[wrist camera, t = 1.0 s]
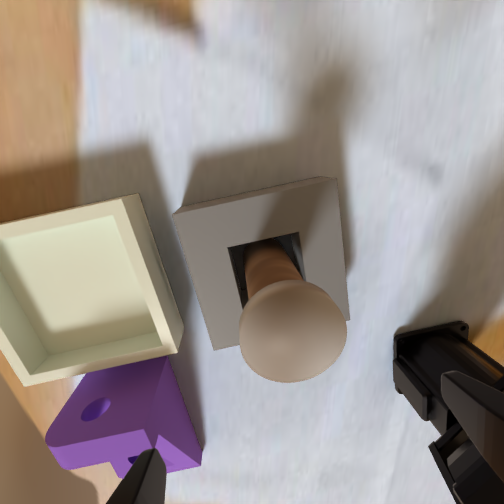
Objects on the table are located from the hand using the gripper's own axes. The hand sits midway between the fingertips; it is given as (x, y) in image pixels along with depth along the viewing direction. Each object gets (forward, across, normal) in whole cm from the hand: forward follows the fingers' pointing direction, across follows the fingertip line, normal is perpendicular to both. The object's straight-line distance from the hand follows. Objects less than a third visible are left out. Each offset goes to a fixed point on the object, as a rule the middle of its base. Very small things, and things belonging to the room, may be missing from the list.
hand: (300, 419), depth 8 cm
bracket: (+14, +13, +12) cm, 22 cm away
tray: (+13, +12, -2) cm, 18 cm away
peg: (+13, -1, -1) cm, 13 cm away
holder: (+13, -1, -1) cm, 13 cm away
